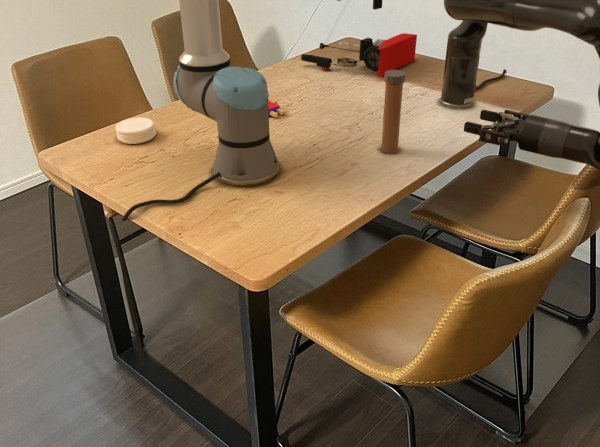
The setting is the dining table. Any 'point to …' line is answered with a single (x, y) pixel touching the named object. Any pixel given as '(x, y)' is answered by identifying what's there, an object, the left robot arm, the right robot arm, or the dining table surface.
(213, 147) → the dining table surface
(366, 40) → the electric hoist
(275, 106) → the toy figure
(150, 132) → the coaster
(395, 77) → the lid
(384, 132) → the brown capped cylinder
